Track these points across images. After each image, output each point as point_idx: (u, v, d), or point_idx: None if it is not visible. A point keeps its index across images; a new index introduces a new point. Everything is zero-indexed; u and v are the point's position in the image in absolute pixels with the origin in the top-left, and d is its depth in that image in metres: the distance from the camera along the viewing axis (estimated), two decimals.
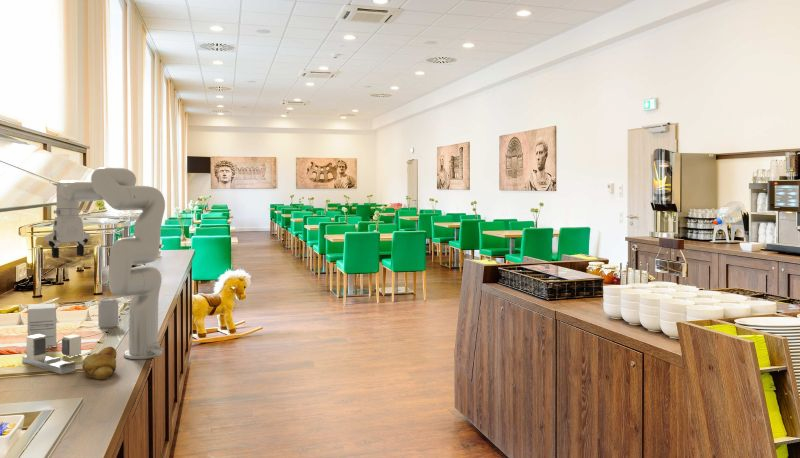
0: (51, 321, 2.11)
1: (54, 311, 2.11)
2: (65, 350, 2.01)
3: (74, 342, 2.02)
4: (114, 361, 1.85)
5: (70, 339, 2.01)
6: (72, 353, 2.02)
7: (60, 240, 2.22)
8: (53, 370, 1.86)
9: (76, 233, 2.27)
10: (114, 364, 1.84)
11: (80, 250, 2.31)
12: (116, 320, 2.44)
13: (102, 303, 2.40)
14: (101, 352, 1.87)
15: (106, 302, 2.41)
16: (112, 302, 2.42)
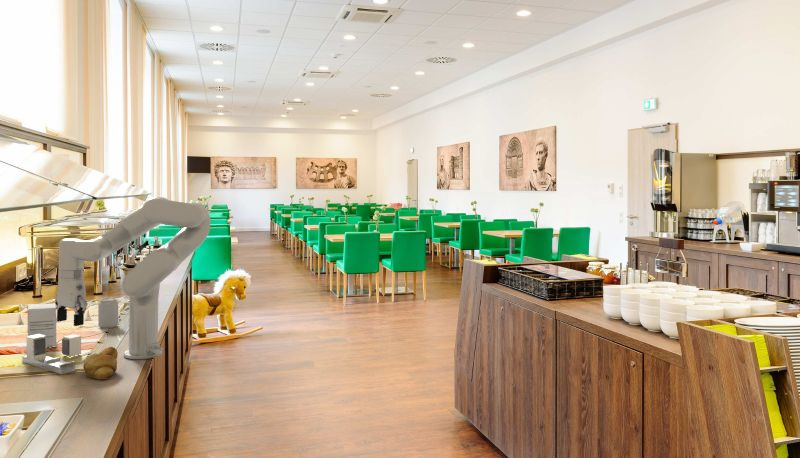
0: (51, 321, 2.11)
1: (54, 311, 2.11)
2: (65, 350, 2.01)
3: (74, 342, 2.02)
4: (115, 361, 1.85)
5: (70, 339, 2.01)
6: (72, 352, 2.02)
7: None
8: (53, 370, 1.86)
9: None
10: (115, 364, 1.84)
11: (65, 314, 2.05)
12: (116, 320, 2.44)
13: (102, 303, 2.40)
14: (102, 352, 1.87)
15: (106, 302, 2.41)
16: (112, 302, 2.42)
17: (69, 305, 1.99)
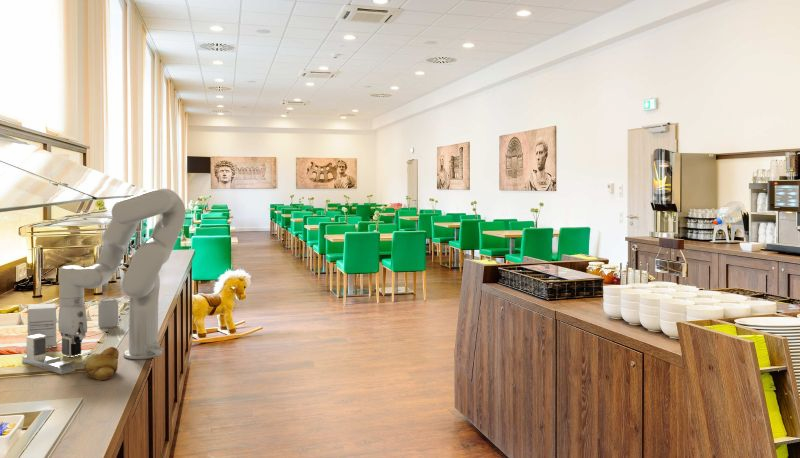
0: (51, 321, 2.11)
1: (54, 311, 2.11)
2: (65, 350, 2.01)
3: None
4: (115, 362, 1.84)
5: (70, 339, 2.01)
6: None
7: (86, 331, 2.03)
8: (53, 370, 1.86)
9: None
10: (115, 365, 1.84)
11: None
12: (116, 320, 2.44)
13: (102, 303, 2.40)
14: (103, 352, 1.86)
15: (106, 302, 2.41)
16: (112, 302, 2.42)
17: (70, 332, 2.00)
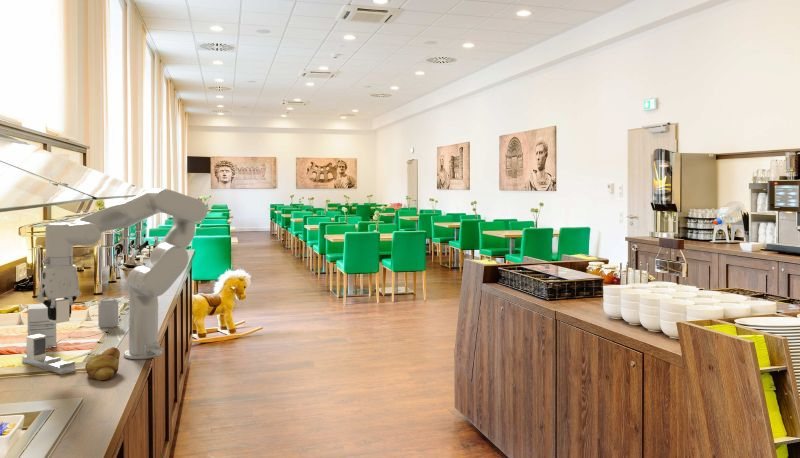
0: None
1: None
2: None
3: None
4: (116, 362, 1.84)
5: None
6: None
7: (50, 296, 1.81)
8: (53, 370, 1.86)
9: (69, 286, 1.86)
10: (116, 365, 1.83)
11: None
12: (116, 320, 2.44)
13: (102, 303, 2.40)
14: (104, 353, 1.86)
15: (106, 302, 2.41)
16: (112, 302, 2.42)
17: None
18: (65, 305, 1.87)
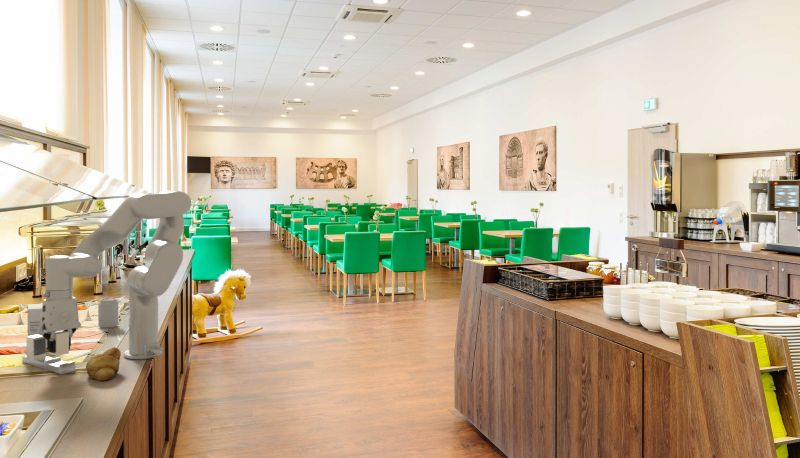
0: None
1: None
2: None
3: None
4: (116, 362, 1.84)
5: None
6: None
7: (49, 329, 1.82)
8: (53, 370, 1.86)
9: (69, 319, 1.87)
10: (116, 365, 1.83)
11: None
12: (116, 320, 2.44)
13: (102, 303, 2.40)
14: (105, 353, 1.86)
15: (106, 302, 2.41)
16: (112, 302, 2.42)
17: None
18: (65, 337, 1.87)
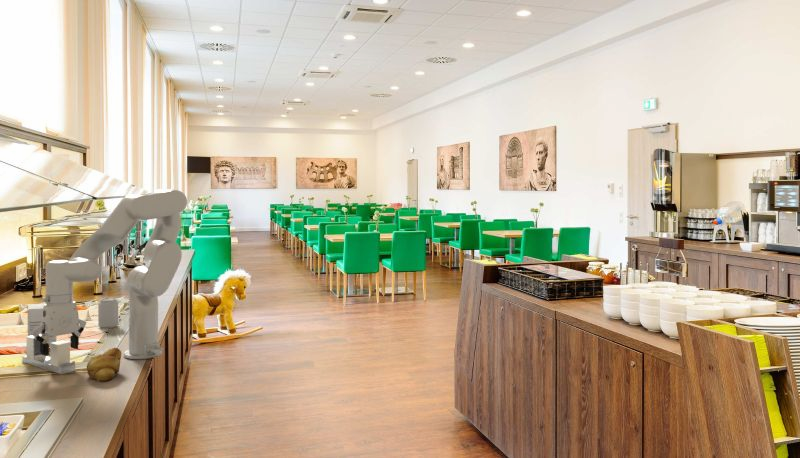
0: None
1: None
2: None
3: (53, 349, 1.86)
4: (117, 363, 1.83)
5: (50, 344, 1.87)
6: (52, 359, 1.87)
7: (50, 334, 1.82)
8: (53, 370, 1.86)
9: (70, 323, 1.87)
10: (117, 366, 1.83)
11: (74, 342, 1.91)
12: (116, 320, 2.44)
13: (102, 303, 2.40)
14: (105, 353, 1.86)
15: (106, 302, 2.41)
16: (112, 302, 2.42)
17: None
18: (66, 348, 1.88)
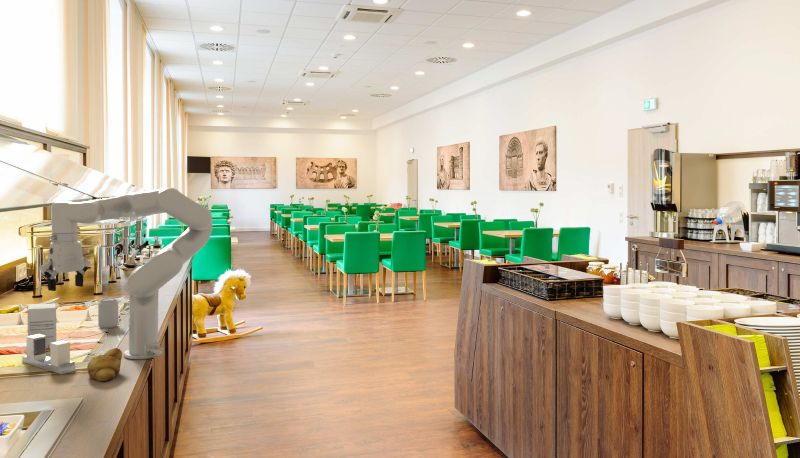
0: (51, 321, 2.11)
1: (54, 311, 2.11)
2: None
3: (53, 349, 1.86)
4: (117, 363, 1.83)
5: (50, 344, 1.87)
6: (52, 359, 1.87)
7: (57, 270, 1.92)
8: (53, 370, 1.86)
9: (75, 261, 1.97)
10: (117, 366, 1.82)
11: (79, 280, 2.01)
12: (116, 320, 2.44)
13: (102, 303, 2.40)
14: (106, 353, 1.86)
15: (106, 302, 2.41)
16: (112, 302, 2.42)
17: None
18: (66, 348, 1.88)
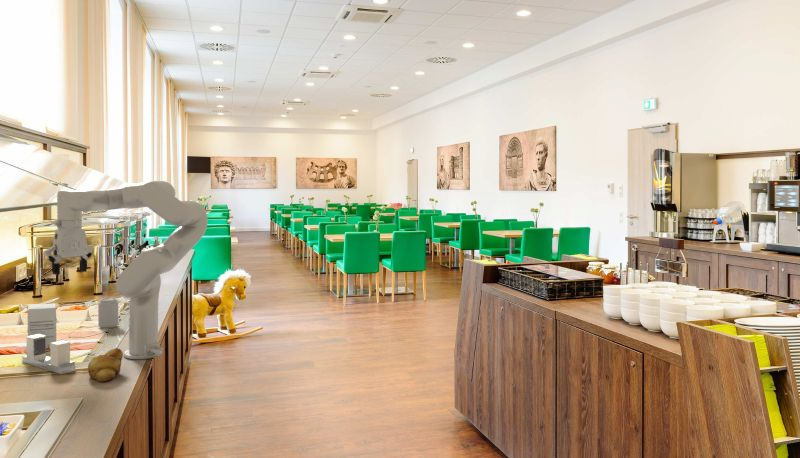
0: (51, 321, 2.11)
1: (54, 311, 2.11)
2: None
3: (53, 349, 1.86)
4: (118, 363, 1.83)
5: (50, 344, 1.87)
6: (52, 359, 1.87)
7: (61, 255, 2.01)
8: (53, 370, 1.86)
9: (79, 247, 2.06)
10: (117, 366, 1.82)
11: (83, 265, 2.10)
12: (116, 320, 2.44)
13: (102, 303, 2.40)
14: (107, 353, 1.85)
15: (106, 302, 2.41)
16: (112, 302, 2.42)
17: None
18: (66, 348, 1.88)
